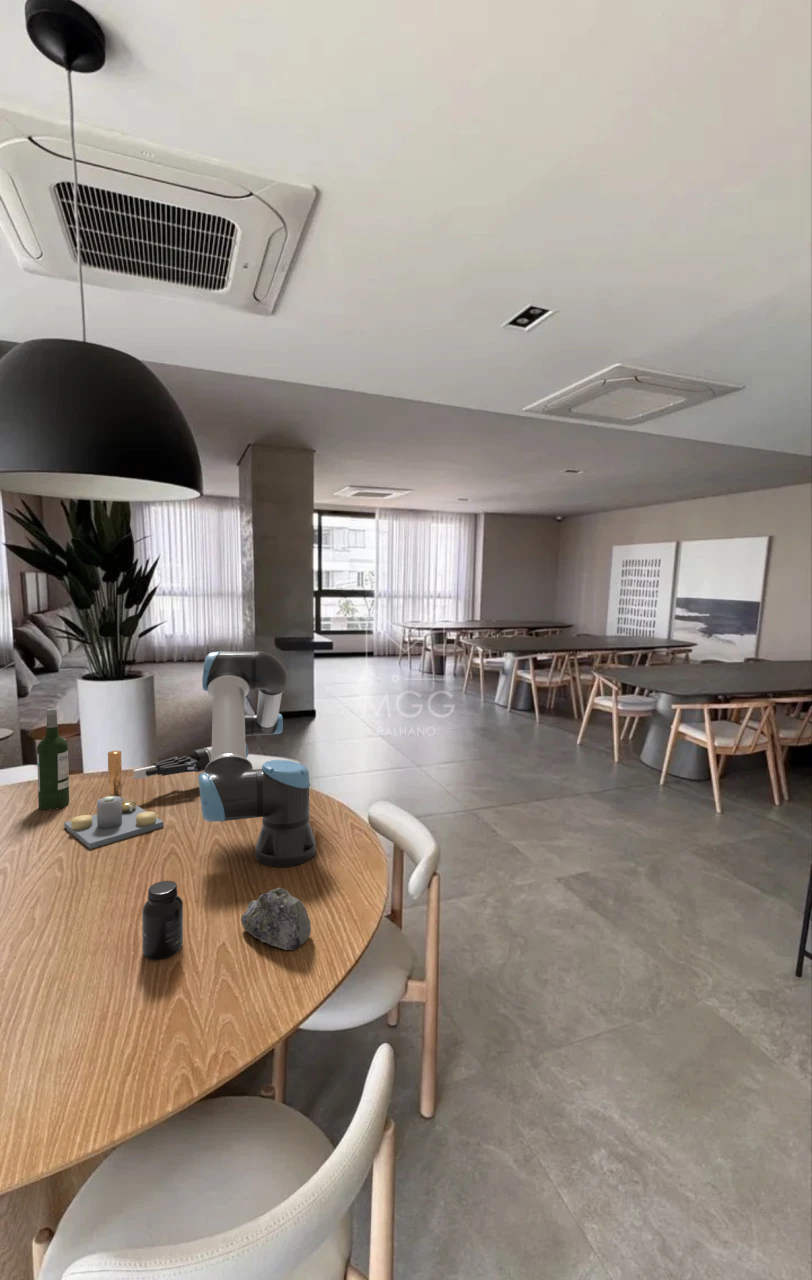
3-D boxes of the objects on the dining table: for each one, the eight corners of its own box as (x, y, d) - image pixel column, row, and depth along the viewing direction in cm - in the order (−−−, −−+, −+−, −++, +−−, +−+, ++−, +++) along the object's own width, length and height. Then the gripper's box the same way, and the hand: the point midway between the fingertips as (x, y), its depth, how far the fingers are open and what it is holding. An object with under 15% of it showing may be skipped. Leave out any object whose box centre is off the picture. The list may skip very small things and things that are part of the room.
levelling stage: (163, 826, 153) (163, 795, 152) (89, 849, 139) (89, 814, 138) (134, 808, 166) (134, 779, 165) (64, 827, 151) (63, 795, 150)
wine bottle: (69, 807, 166) (67, 710, 164) (38, 812, 161) (35, 712, 159) (68, 799, 172) (66, 705, 170) (38, 803, 168) (35, 708, 166)
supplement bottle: (133, 955, 98) (132, 891, 97) (163, 934, 105) (162, 874, 104) (163, 965, 96) (162, 900, 95) (191, 943, 102) (190, 881, 101)
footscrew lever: (139, 809, 161) (138, 758, 159) (122, 814, 157) (121, 761, 156) (121, 798, 169) (120, 749, 168) (104, 802, 165) (103, 752, 164)
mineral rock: (238, 927, 107) (238, 878, 107) (289, 910, 113) (289, 864, 113) (261, 964, 97) (261, 910, 96) (316, 943, 103) (316, 892, 102)
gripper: (214, 774, 184) (143, 791, 166) (195, 765, 192) (125, 781, 174) (214, 752, 183) (143, 767, 165) (195, 744, 192) (125, 758, 174)
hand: (134, 774), depth 170 cm, fingers closed
